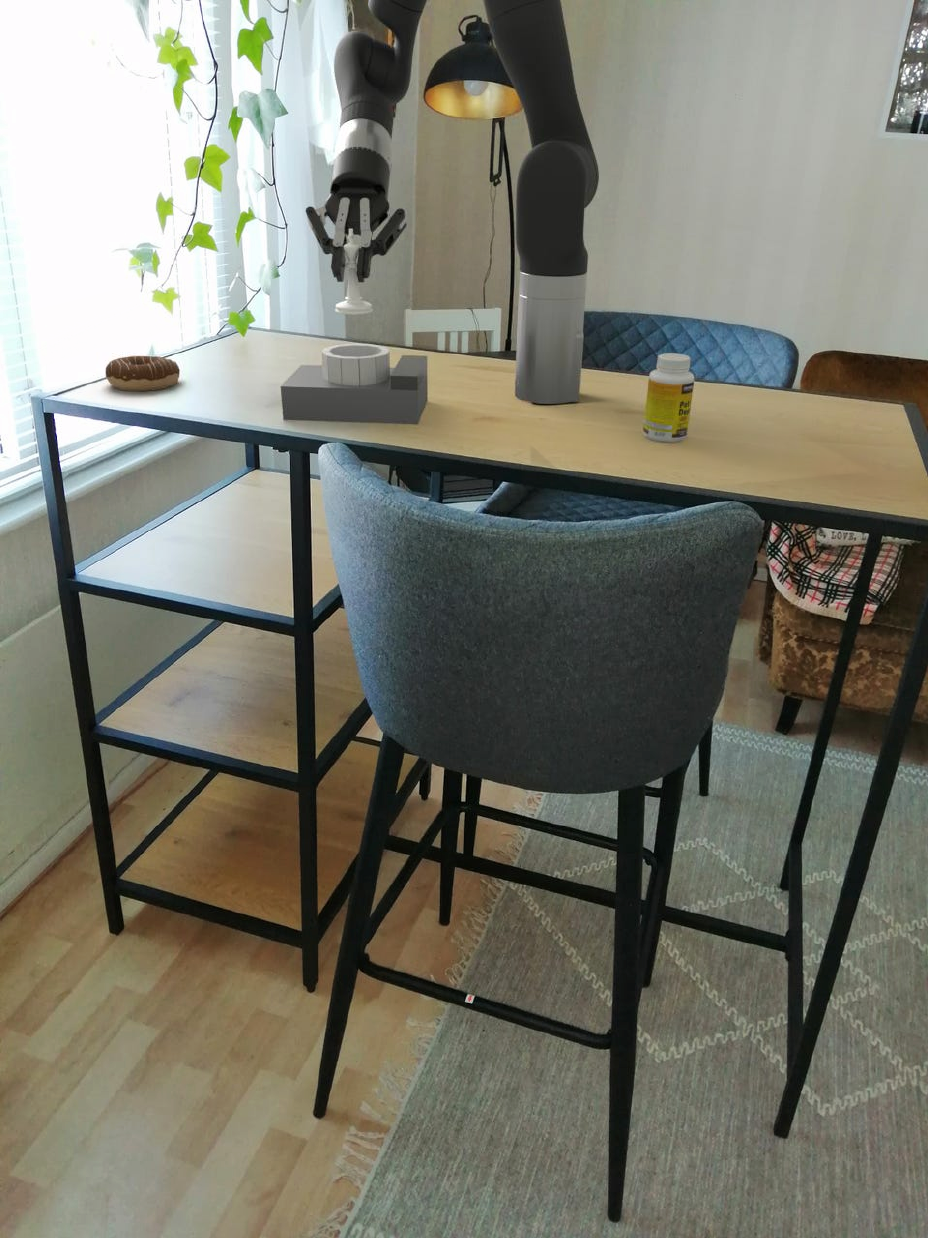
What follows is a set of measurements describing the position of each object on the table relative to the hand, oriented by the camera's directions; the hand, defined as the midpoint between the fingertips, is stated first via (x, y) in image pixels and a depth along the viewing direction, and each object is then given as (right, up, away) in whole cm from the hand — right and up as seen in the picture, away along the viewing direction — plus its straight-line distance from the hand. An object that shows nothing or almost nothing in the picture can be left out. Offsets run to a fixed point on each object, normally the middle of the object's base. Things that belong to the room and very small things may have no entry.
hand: (349, 277), depth 118 cm
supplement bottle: (+40, -20, +1) cm, 45 cm away
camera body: (0, -14, +10) cm, 18 cm away
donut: (-33, -9, +21) cm, 40 cm away
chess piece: (0, -3, +4) cm, 5 cm away
